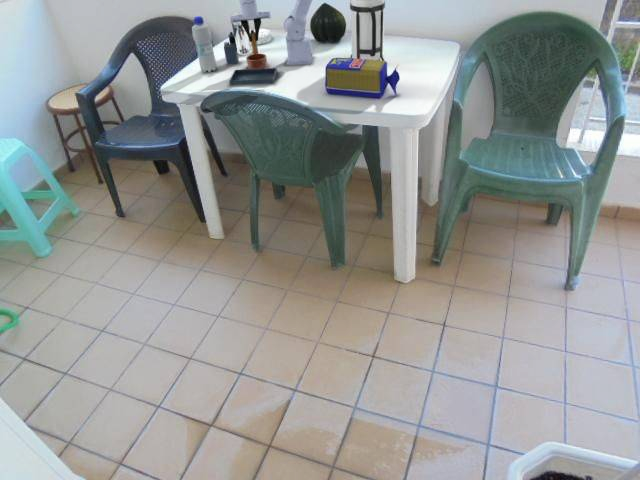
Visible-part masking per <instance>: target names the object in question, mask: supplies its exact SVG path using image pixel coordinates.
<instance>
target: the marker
mask: <svg viewBox="0 0 640 480" xmlns="http://www.w3.org/2000/svg"><path fill="white" fill-rule="evenodd" d="M250 30H251V29H250ZM250 36H251V41H252V42H251V43H252V45H251V48H252V54H258V53H259V50H258V49H259V48H258V45H257V41H256V34H255V32H254V30H251V32H250Z"/></svg>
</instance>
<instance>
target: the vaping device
mask: <svg viewBox="0 0 640 480" xmlns="http://www.w3.org/2000/svg"><path fill="white" fill-rule="evenodd" d="M227 36H228V41H224V42H223V44H224V45H223V50H224V56H225V61H226V64H227V65H238V64H239V63H240V59H239V54H238V45H237V41H236V38H235V34H234V32H233V31H229V34H228V35H227Z"/></svg>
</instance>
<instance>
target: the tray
mask: <svg viewBox="0 0 640 480" xmlns="http://www.w3.org/2000/svg"><path fill="white" fill-rule="evenodd" d="M277 75H278V68H276V67H273V68H272V67H271V68H268V67H267V68H265V69H248V68H247V69H246V68H245V69H244V68H243V69H234V70H233V72H232V75H231V77H230V79H229V85H230V86H244V85H248V86H249V85H273V84H274V83H275V81H276V78H277Z"/></svg>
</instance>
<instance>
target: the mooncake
mask: <svg viewBox="0 0 640 480" xmlns="http://www.w3.org/2000/svg"><path fill="white" fill-rule="evenodd" d="M251 30H254V32H255V28H254V29H251V28H250V32H251ZM271 41H272V32H271V30H270V29H268V28H260V29H259V35H258V41H257V46H258V45H259V46H261V45H264V44H267V43H269V42H271ZM250 44H251V46H252V43H251V42H250Z"/></svg>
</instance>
